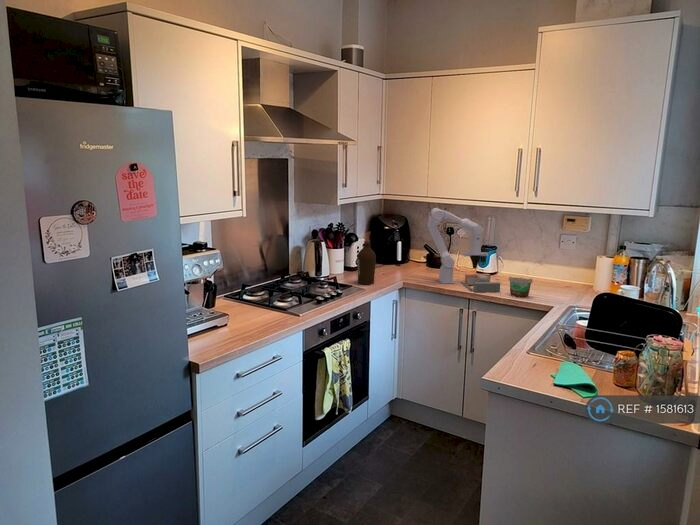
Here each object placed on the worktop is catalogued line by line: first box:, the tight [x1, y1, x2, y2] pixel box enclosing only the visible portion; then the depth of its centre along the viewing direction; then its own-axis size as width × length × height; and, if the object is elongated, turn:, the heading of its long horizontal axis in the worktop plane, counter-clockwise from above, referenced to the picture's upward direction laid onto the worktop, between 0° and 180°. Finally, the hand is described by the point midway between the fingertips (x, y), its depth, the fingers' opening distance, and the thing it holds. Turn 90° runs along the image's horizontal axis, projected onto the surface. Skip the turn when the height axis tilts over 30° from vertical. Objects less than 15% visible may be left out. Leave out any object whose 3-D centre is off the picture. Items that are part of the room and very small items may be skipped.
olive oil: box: [356, 239, 377, 286], centre depth 292 cm, size 11×11×25 cm
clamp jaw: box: [464, 273, 492, 286], centre depth 294 cm, size 3×14×6 cm, turn 96°
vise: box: [460, 281, 501, 294], centre depth 288 cm, size 20×17×5 cm
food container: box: [508, 276, 534, 298], centre depth 271 cm, size 12×6×10 cm, turn 62°
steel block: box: [476, 275, 488, 282], centre depth 287 cm, size 5×5×7 cm
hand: (474, 268), depth 299 cm, fingers closed
